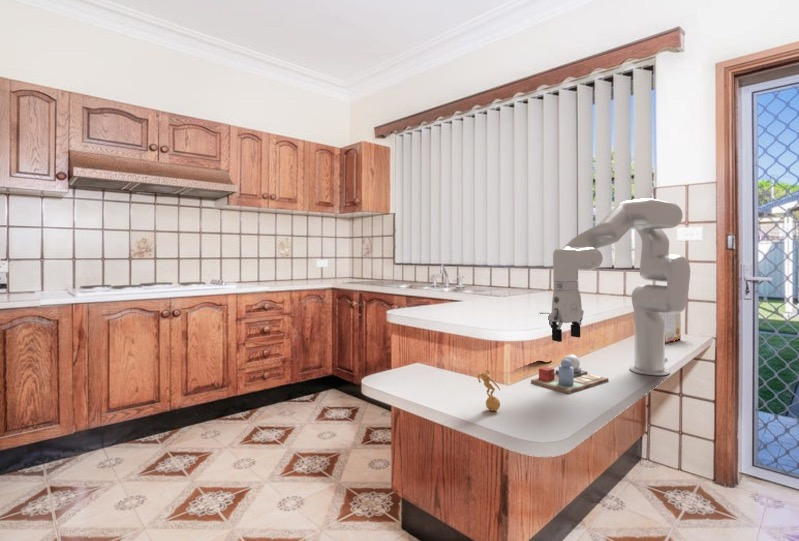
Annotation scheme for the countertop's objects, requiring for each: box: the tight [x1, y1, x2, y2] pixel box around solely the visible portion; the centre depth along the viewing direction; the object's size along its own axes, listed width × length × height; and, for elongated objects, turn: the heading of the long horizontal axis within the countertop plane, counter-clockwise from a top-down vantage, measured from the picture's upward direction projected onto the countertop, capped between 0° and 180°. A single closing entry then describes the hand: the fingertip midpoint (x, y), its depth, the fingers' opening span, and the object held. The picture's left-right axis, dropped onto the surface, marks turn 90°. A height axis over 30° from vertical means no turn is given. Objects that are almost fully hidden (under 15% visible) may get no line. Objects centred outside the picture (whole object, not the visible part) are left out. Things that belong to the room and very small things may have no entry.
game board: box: [530, 366, 609, 395], centre depth 146 cm, size 22×14×5 cm, turn 124°
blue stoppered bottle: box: [558, 358, 574, 386], centre depth 140 cm, size 5×5×8 cm
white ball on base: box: [562, 354, 582, 373], centre depth 152 cm, size 6×6×6 cm
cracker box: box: [660, 312, 682, 343], centre depth 207 cm, size 14×6×21 cm, turn 119°
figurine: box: [477, 369, 501, 412], centre depth 121 cm, size 8×6×12 cm
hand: (566, 339), depth 140 cm, fingers open, 9 cm apart
